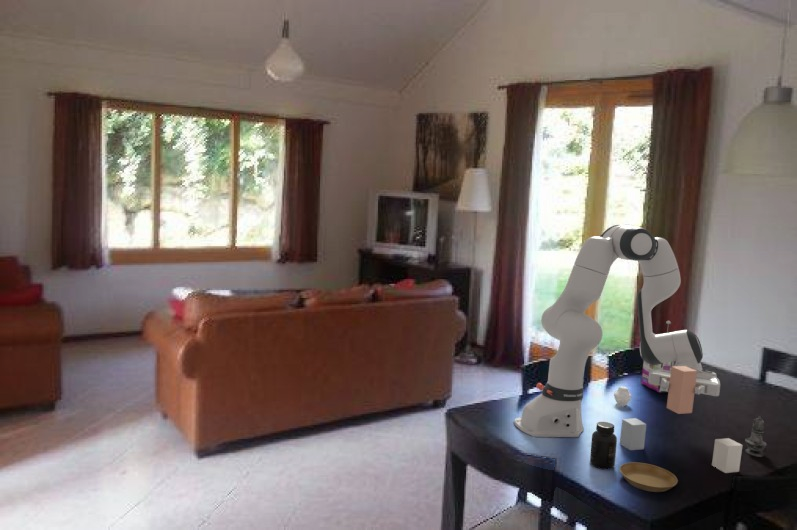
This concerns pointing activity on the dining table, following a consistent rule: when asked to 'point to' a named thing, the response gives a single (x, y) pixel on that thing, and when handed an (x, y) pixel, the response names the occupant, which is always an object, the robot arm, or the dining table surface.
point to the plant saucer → (648, 477)
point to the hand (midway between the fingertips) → (681, 388)
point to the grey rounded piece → (622, 396)
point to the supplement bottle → (603, 446)
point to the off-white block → (727, 455)
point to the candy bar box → (645, 375)
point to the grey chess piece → (756, 439)
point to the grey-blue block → (633, 434)
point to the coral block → (681, 389)
